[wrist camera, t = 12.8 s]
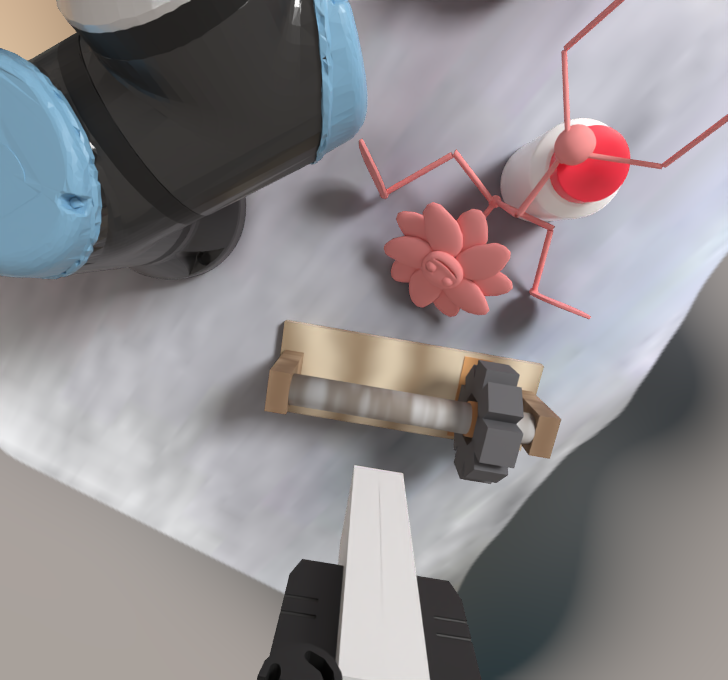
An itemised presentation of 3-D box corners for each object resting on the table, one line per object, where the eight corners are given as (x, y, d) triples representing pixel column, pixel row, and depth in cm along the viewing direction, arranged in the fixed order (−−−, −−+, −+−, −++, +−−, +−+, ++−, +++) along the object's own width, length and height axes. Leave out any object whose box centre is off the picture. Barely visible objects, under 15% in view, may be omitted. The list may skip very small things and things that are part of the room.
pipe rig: (274, 405, 50) (254, 440, 41) (286, 319, 47) (267, 337, 39) (517, 446, 50) (547, 488, 42) (540, 363, 48) (576, 390, 39)
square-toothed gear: (447, 444, 49) (468, 503, 38) (469, 349, 46) (499, 383, 35) (474, 448, 49) (502, 508, 38) (497, 354, 46) (535, 389, 35)
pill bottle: (485, 174, 44) (521, 153, 33) (552, 123, 42) (612, 84, 32) (527, 238, 45) (575, 238, 34) (593, 190, 44) (665, 174, 33)
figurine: (983, 87, 24) (510, 330, 52) (685, -323, 20) (346, 179, 48) (1144, 238, 15) (470, 433, 43) (669, -443, 11) (264, 259, 39)
